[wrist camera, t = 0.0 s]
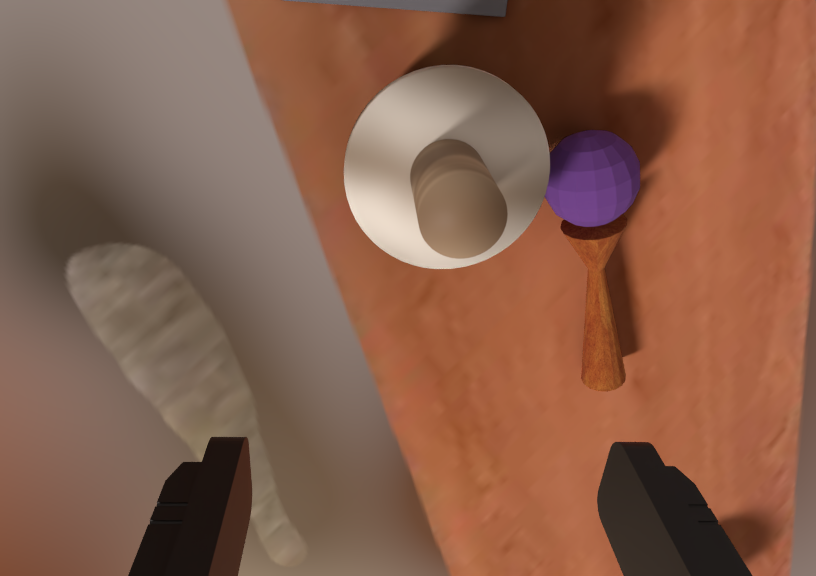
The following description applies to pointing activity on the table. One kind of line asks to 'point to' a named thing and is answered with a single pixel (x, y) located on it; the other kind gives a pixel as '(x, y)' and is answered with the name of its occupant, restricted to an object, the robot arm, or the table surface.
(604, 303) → the kendama
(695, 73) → the table surface
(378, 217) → the lid
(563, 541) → the table surface
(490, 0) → the mat
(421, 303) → the table surface
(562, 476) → the table surface
